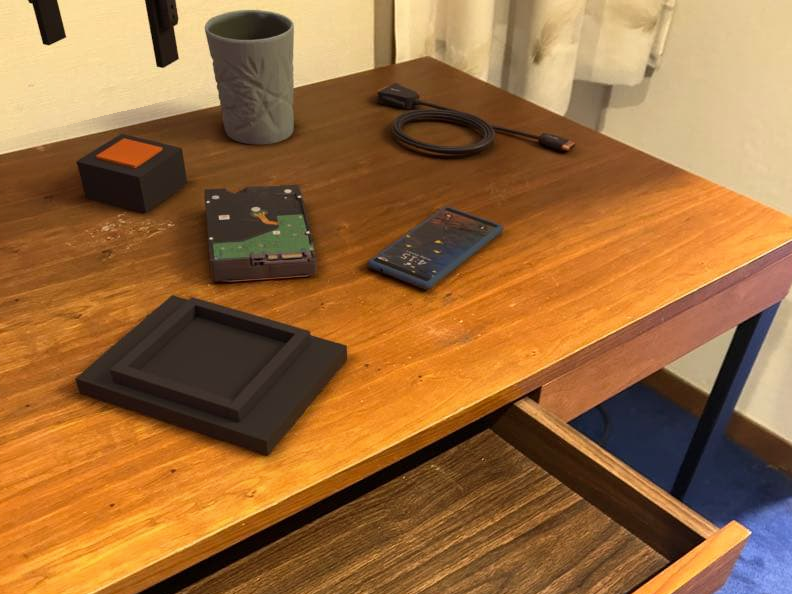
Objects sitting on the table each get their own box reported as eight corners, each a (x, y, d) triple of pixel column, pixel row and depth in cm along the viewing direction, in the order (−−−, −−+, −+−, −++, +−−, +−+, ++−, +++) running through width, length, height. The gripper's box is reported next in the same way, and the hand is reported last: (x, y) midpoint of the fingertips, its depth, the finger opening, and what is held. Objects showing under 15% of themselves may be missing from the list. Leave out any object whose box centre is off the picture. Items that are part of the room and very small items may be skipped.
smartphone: (505, 225, 91) (428, 285, 82) (504, 232, 92) (428, 293, 83) (445, 204, 94) (364, 260, 85) (444, 211, 94) (364, 268, 86)
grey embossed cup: (301, 115, 111) (295, 10, 102) (297, 149, 104) (291, 40, 95) (222, 113, 110) (209, 8, 101) (213, 147, 103) (199, 38, 94)
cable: (520, 189, 99) (521, 176, 98) (329, 124, 109) (328, 112, 108) (574, 149, 106) (577, 137, 105) (391, 92, 117) (391, 81, 116)
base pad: (79, 392, 71) (70, 366, 69) (174, 308, 80) (169, 283, 78) (268, 455, 67) (265, 429, 65) (347, 359, 76) (346, 333, 74)
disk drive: (205, 214, 93) (213, 285, 83) (201, 188, 91) (209, 259, 81) (300, 207, 94) (319, 277, 84) (299, 182, 92) (318, 250, 82)
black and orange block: (85, 197, 94) (75, 158, 91) (128, 168, 99) (121, 130, 96) (146, 213, 92) (138, 174, 89) (187, 183, 97) (181, 144, 94)
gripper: (205, -227, 69) (238, 60, 85) (-39, -250, 75) (34, 21, 91) (151, -215, 64) (196, 86, 80) (-104, -241, 70) (-16, 43, 86)
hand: (110, 52), depth 85 cm, fingers open, 13 cm apart
